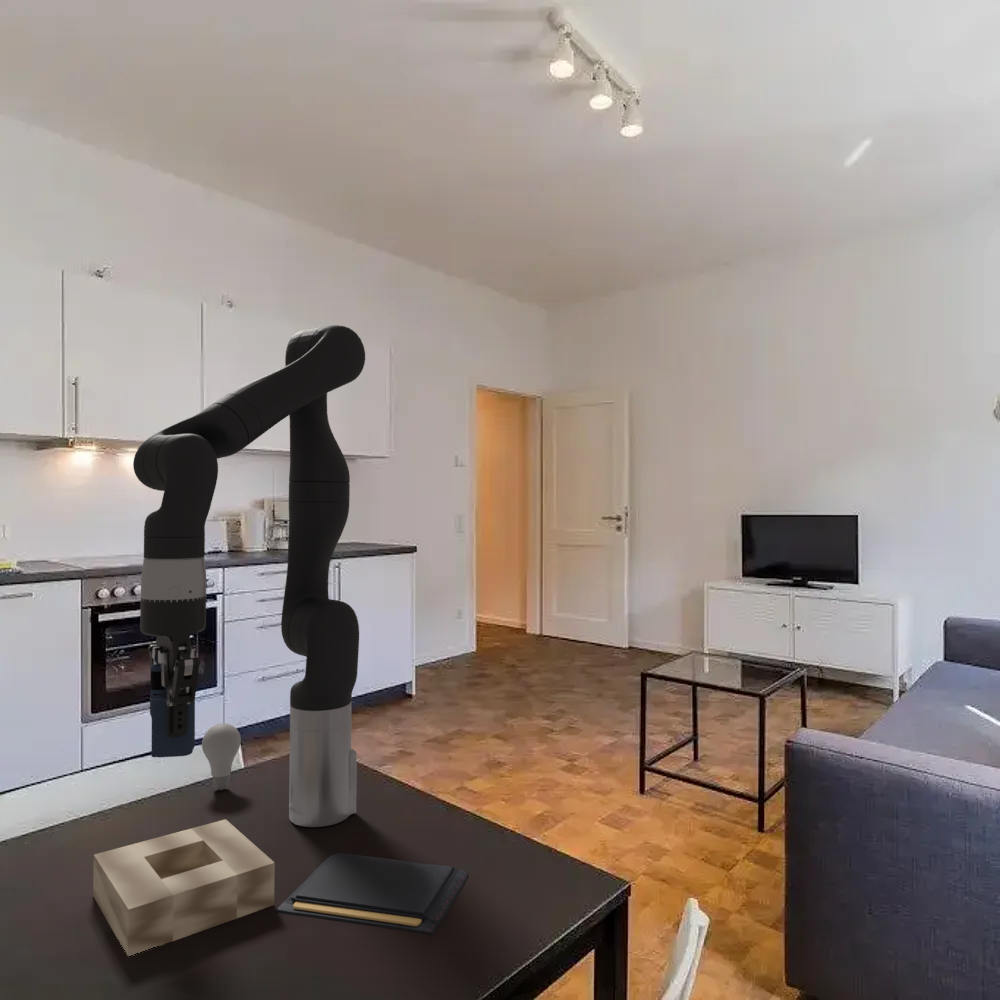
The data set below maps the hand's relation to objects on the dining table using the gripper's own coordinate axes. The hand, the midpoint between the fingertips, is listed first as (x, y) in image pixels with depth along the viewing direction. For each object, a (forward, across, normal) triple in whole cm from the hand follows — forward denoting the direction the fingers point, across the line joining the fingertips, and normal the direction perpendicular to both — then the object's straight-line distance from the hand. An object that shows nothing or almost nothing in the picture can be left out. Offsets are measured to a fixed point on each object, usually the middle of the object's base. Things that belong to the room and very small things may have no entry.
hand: (171, 731), depth 92 cm
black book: (+20, -17, -20) cm, 33 cm away
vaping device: (+3, 0, 0) cm, 3 cm away
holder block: (+19, -4, 0) cm, 20 cm away
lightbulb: (+19, +28, -16) cm, 38 cm away
